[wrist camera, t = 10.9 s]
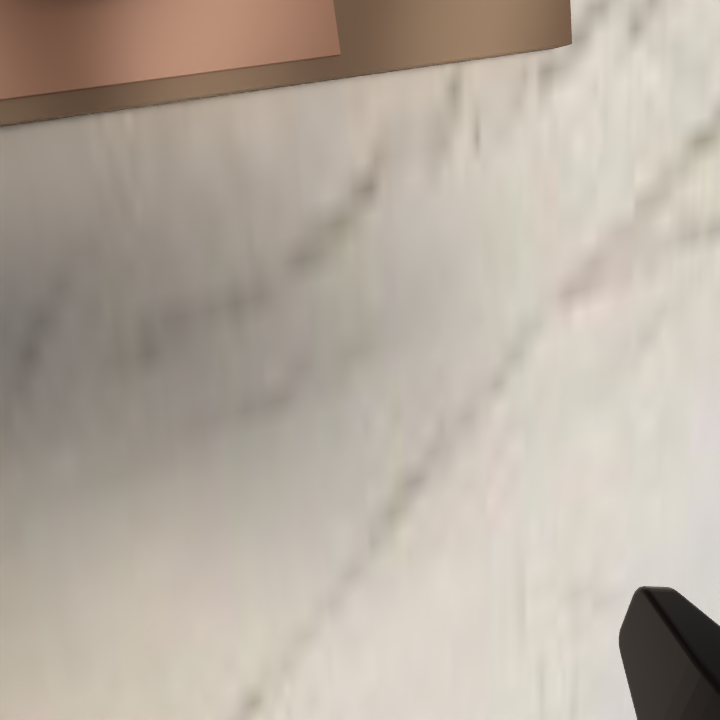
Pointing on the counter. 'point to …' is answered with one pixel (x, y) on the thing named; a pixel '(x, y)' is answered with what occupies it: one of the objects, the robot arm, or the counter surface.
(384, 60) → the shaft cradle
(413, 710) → the counter surface
